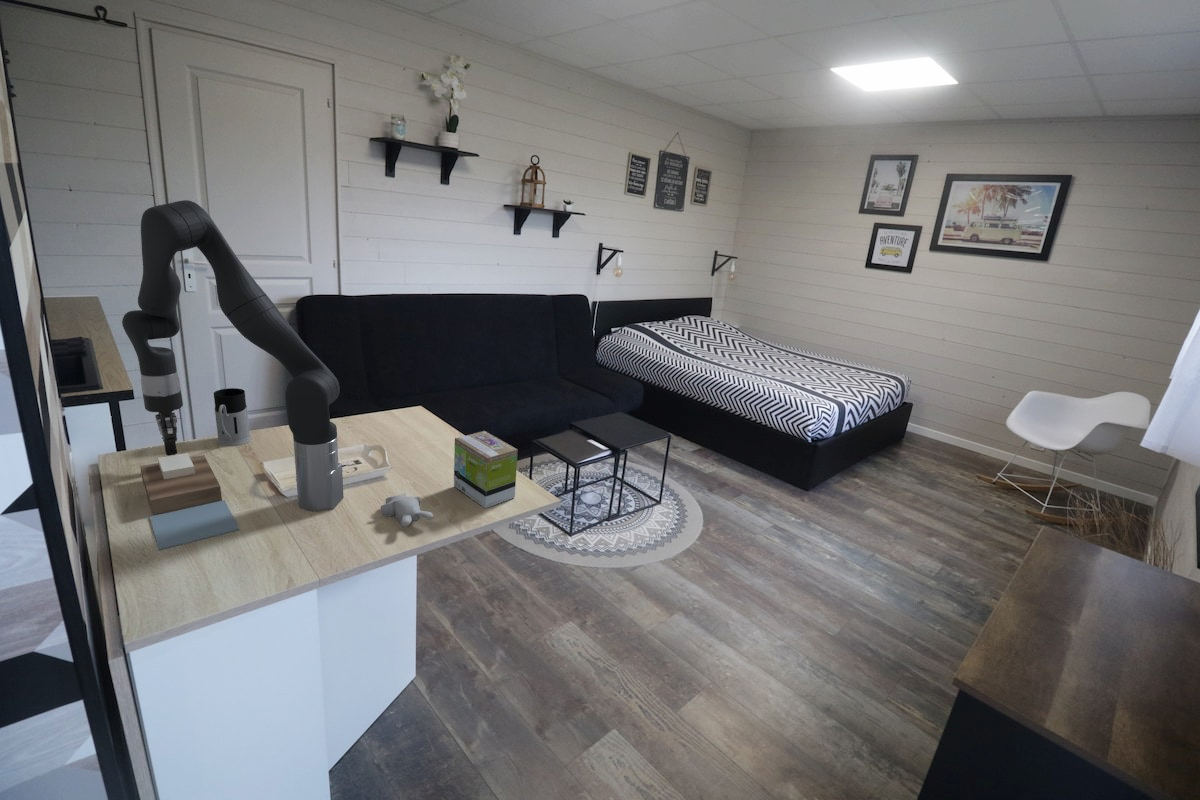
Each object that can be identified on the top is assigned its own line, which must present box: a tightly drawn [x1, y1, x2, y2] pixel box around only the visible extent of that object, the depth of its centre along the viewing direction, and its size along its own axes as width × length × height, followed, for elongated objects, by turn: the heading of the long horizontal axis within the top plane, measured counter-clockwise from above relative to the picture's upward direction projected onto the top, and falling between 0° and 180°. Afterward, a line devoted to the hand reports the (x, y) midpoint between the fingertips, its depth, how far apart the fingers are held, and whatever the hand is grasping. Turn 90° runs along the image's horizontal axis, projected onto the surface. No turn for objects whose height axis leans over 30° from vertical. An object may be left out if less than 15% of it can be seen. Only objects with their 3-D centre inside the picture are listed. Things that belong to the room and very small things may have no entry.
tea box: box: [453, 430, 519, 509], centre depth 147 cm, size 15×10×15 cm
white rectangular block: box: [157, 452, 195, 479], centre depth 136 cm, size 9×6×2 cm, turn 43°
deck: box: [140, 455, 223, 516], centre depth 134 cm, size 20×13×4 cm, turn 43°
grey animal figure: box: [380, 493, 435, 528], centre depth 132 cm, size 10×5×15 cm
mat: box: [149, 499, 240, 551], centre depth 122 cm, size 15×14×1 cm
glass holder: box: [213, 387, 253, 447], centre depth 158 cm, size 9×14×15 cm, turn 18°
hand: (171, 454), depth 142 cm, fingers closed
